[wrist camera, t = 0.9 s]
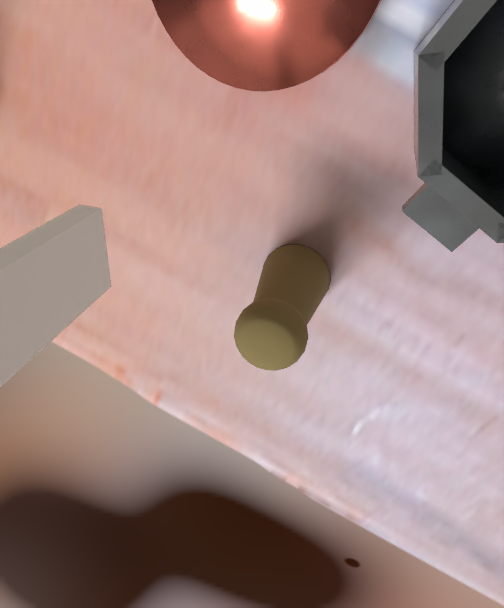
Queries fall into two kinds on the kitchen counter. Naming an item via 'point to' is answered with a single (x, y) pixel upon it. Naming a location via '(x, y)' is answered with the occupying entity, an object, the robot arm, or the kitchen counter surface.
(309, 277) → the olive pepper mill
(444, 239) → the pot
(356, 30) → the lid
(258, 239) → the kitchen counter surface
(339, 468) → the kitchen counter surface
